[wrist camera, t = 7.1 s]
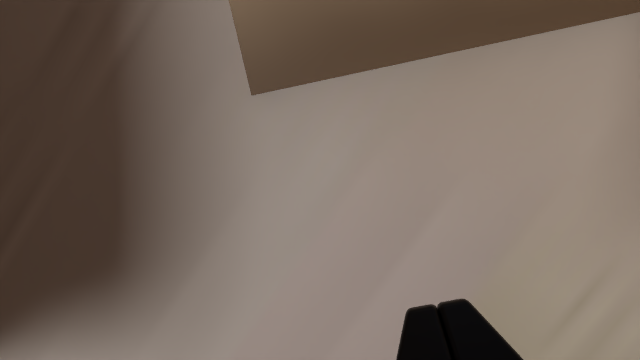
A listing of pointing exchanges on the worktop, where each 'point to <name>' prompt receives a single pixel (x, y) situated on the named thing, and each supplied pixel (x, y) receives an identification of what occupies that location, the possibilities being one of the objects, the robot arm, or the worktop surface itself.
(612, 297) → the worktop surface
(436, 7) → the board
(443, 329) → the robot arm
